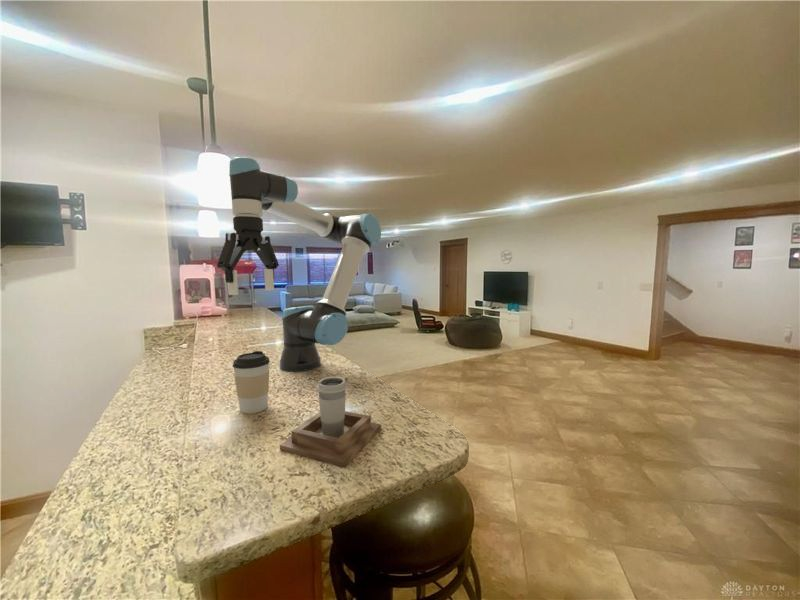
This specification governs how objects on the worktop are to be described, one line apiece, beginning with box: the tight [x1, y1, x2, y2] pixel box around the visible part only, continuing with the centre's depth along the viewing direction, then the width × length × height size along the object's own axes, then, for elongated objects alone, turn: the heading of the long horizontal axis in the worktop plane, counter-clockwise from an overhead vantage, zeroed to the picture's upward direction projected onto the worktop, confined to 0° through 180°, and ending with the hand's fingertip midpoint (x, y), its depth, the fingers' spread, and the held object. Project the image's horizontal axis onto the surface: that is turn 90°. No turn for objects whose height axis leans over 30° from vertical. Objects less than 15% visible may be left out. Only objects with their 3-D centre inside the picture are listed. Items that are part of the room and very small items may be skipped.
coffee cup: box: [232, 350, 271, 414], centre depth 87 cm, size 9×9×15 cm
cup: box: [316, 376, 348, 438], centre depth 71 cm, size 7×7×12 cm
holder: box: [279, 410, 382, 468], centre depth 72 cm, size 16×16×4 cm
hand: (252, 292), depth 92 cm, fingers open, 13 cm apart
